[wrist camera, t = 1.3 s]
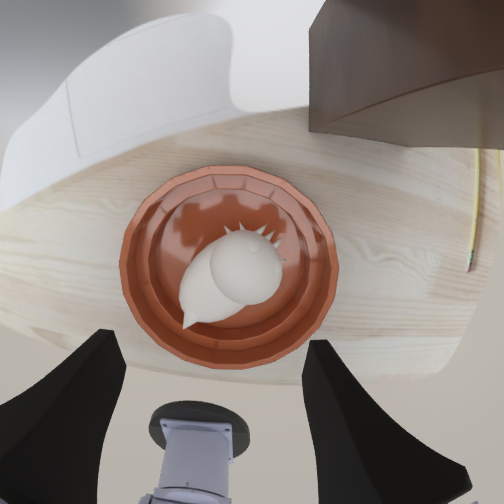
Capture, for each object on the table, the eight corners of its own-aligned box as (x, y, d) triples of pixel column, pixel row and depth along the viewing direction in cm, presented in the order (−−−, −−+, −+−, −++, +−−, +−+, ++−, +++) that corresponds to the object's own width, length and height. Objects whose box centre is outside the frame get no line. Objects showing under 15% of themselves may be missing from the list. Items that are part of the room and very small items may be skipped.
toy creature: (295, 244, 19) (319, 281, 13) (216, 321, 20) (209, 378, 15) (244, 196, 18) (246, 213, 12) (167, 282, 19) (140, 330, 13)
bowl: (310, 337, 22) (321, 367, 18) (150, 334, 21) (137, 363, 18) (328, 170, 18) (348, 172, 14) (135, 167, 17) (112, 169, 14)
